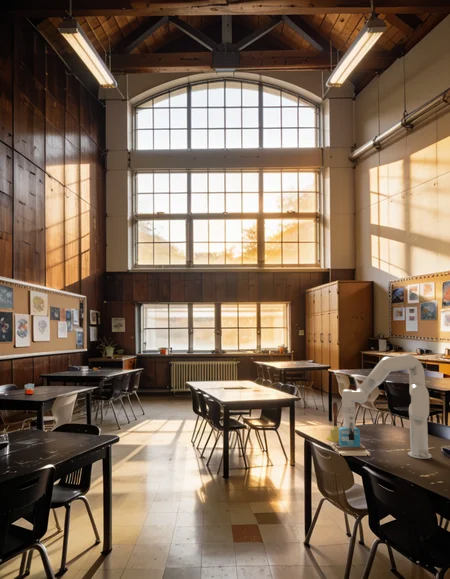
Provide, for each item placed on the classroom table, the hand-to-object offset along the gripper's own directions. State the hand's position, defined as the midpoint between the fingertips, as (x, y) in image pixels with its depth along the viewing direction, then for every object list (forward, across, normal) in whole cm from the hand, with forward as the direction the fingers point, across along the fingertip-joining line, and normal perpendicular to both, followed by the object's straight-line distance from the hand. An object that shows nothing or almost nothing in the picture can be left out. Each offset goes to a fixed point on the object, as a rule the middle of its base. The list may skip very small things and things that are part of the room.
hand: (349, 438), depth 269 cm
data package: (+6, 0, 0) cm, 6 cm away
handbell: (+7, +27, +1) cm, 28 cm away
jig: (+7, 0, 0) cm, 7 cm away
